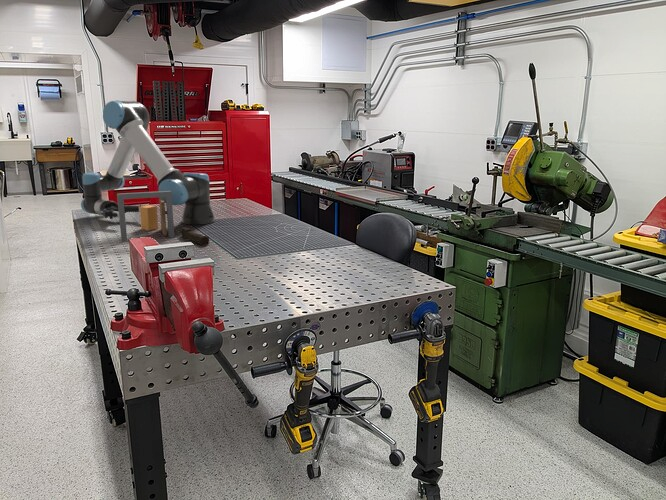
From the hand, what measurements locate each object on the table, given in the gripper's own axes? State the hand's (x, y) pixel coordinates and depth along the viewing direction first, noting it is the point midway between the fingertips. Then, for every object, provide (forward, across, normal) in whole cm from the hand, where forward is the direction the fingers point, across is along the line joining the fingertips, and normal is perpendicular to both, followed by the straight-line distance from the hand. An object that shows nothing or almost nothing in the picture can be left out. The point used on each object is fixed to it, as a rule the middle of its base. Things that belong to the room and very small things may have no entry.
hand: (136, 213), depth 225 cm
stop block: (+8, 0, -6) cm, 10 cm away
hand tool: (+40, +5, -6) cm, 41 cm away
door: (+20, +1, -5) cm, 21 cm away
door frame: (+23, +12, -6) cm, 26 cm away
